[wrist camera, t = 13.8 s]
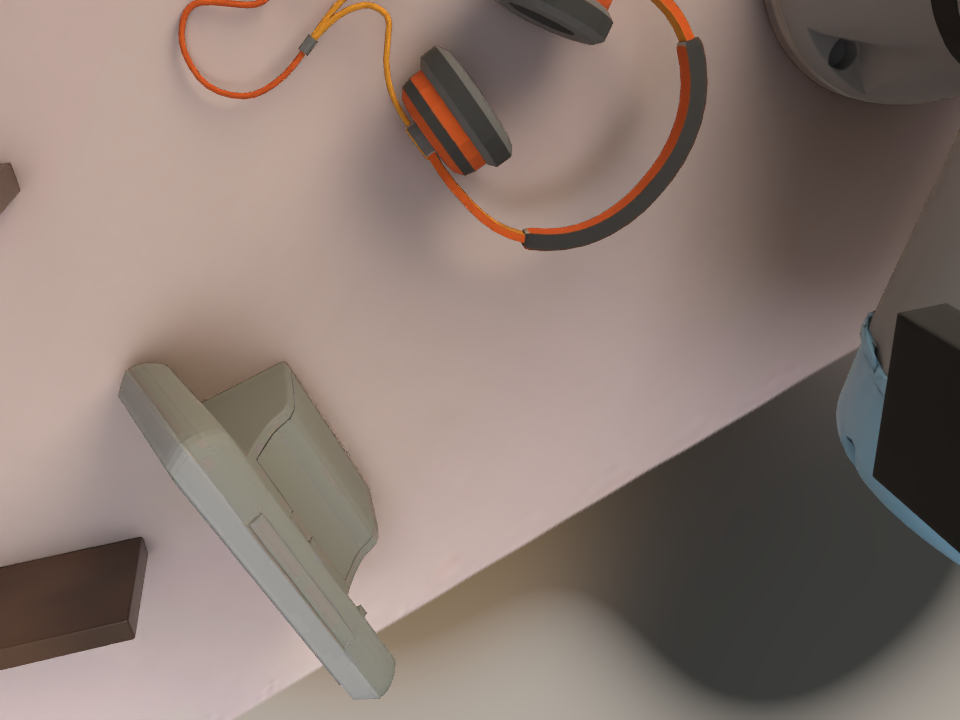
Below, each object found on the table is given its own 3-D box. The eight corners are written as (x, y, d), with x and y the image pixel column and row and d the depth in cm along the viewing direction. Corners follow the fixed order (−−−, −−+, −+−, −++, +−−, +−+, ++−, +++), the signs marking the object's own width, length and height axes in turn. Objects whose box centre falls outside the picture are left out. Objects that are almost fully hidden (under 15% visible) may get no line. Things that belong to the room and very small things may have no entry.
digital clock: (107, 351, 39) (64, 484, 30) (301, 293, 40) (318, 405, 31) (232, 606, 47) (229, 774, 37) (392, 552, 48) (427, 703, 38)
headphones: (162, 41, 36) (524, 326, 41) (120, 34, 31) (538, 361, 36) (410, -323, 33) (772, 36, 38) (408, -396, 28) (826, 29, 32)
